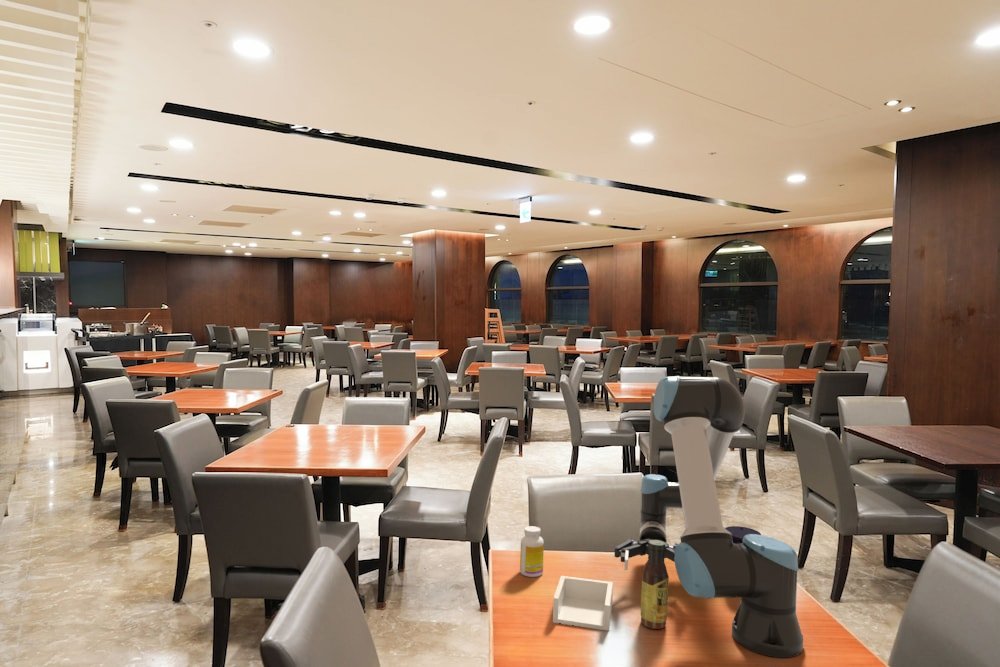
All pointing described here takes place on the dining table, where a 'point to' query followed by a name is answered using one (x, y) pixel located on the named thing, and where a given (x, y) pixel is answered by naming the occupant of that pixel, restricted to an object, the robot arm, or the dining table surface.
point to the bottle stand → (583, 603)
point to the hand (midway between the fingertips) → (653, 568)
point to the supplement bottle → (531, 552)
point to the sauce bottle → (654, 587)
